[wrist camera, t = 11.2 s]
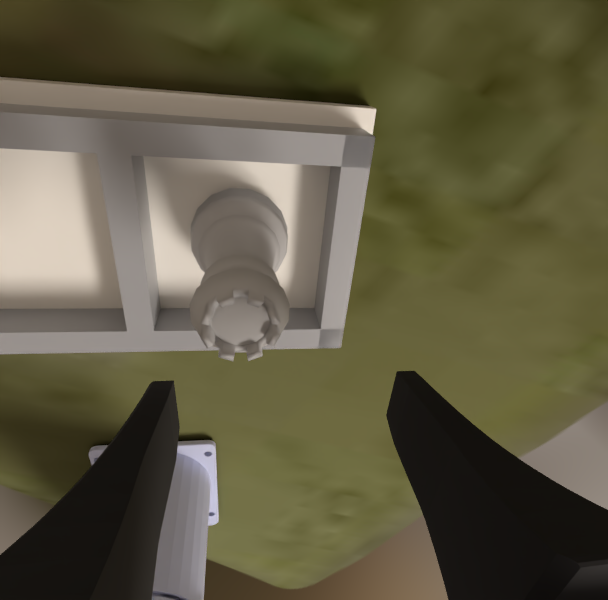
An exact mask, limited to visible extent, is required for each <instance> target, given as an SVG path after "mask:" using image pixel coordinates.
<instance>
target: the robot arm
mask: <svg viewBox="0 0 608 600" xmlns="http://www.w3.org/2000/svg"><path fill="white" fill-rule="evenodd" d="M386 416H387V420H388V424H389V427H390V431H391V435H392V438H393V442H394V445H395V447H396V450H397V452H398V455H399V457H400V459H401V462H402V464H403V467H404V469H405V471H406V474H407V476H408V479H409V481H410V483H411V486H412V488H413V490H414V493H415V495H416V498H417V500H418V502H419V505H420V507H421V510H422V513H423V515H424V518H425V520H426V524H427V527H428V530H429V533H430V537H431V540H432V543H433V546H434V549H435V553H436V556H437V559H438V563H439V566H440V570H441V573H442V577H443V581H444V584H445V588H446V592H447V596H448V599H449V600H608V510H607V509H605V508H603V507H601V506H599V505H596V504H595V503H593V502H591V501H589V500H587V499H585V498H583V497H582V496H579V495H578V494H576V493H574V492H572V491H570V490H568V489H567V488H565V487H563V486H562V485H560V484H558V483H556V482H555V481H553V480H551V479H550V478H548V477H546V476H545V475H543V474H542V473H540V472H538V471H537V470H535V469H533V468H532V467H530V466H529V465H527V464H525V463H524V462H523V461H521V460H520V459H518V458H517V457H515V456H514V455H513V454H511V453H510V452H508V451H507V450H506V449H504V448H503V447H501V446H500V445H499V444H497V443H496V442H495V441H493V440H492V439H491V438H489V437H488V436H487V435H486V434H485V433H483V432H482V431H481V430H480V429H478V428H477V427H476V426H475V425H473V424H472V423H471V422H470V421H469V420H468V419H466V418H465V417H464V416H463V415H462V414H461V413H459V412H458V411H457V410H456V409H455V408H454V407H453V406H452V405H451V404H449V403H448V402H447V401H446V400H445V399H444V398H443V397H442V396H441V395H440V394H439V393H438V392H437V391H435V390H434V389H433V388H432V387H431V386H430V385H429V384H428V383H427V382H426V381H425V380H424V379H423V378H422V377H421V376H419V375H418V374H417V373H416V372H415V371H398V372H397V373H396V377H395V382H394V386H393V390H392V394H391V398H390V402H389V406H388V410H387V415H386ZM178 438H179V419H178V411H177V403H176V395H175V387H174V381H153V382H152V383H151V384H150V385H149V386H148V388H147V390H146V392H145V393H144V395H143V397H142V398H141V400H140V401H139V403H138V404H137V406H136V408H135V409H134V411H133V412H132V414H131V415H130V417H129V418H128V419H127V421H126V422H125V424H124V425H123V426H122V428H121V429H120V431H119V432H118V433H117V435H116V436H115V437H114V439H113V440H112V441H111V443H110V444H109V445H100V446H93V447H92V448H91V449H90V451H89V458H90V462H91V465H92V466H91V467H90V468H89V470H88V471H87V472H86V473H85V474H84V475H83V476H82V478H81V479H80V480H79V481H78V482H77V483H76V484H75V485H74V486H73V487H72V488H71V489H70V491H69V492H68V493H67V494H66V495H65V496H64V497H63V498H62V499H61V500H60V501H59V502H58V503H57V504H56V505H55V506H54V507H53V508H52V509H51V510H50V511H49V512H48V513H47V514H46V515H45V516H44V517H42V518H41V519H40V520H39V521H38V522H37V523H36V524H35V525H34V526H33V527H32V528H31V529H30V530H28V531H27V532H26V533H25V534H24V535H23V536H21V537H20V538H19V539H18V540H17V541H16V542H15V543H14V544H12V545H11V546H10V547H9V548H8V549H7V550H5V551H4V552H3V553H2V554H1V555H0V600H204V584H205V567H206V552H207V537H208V525H215V524H217V523H218V521H219V513H218V489H217V465H216V444H215V442H214V441H212V440H195V441H178Z"/></svg>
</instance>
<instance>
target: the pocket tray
mask: <svg viewBox="0 0 608 600" xmlns="http://www.w3.org/2000/svg"><path fill="white" fill-rule="evenodd" d="M375 115H376V109H375V108H373V107H371V106H363V105H350V104H337V103H325V102H312V101H299V100H287V99H274V98H261V97H248V96H236V95H223V94H210V93H198V92H185V91H172V90H160V89H147V88H134V87H121V86H109V85H96V84H83V83H71V82H58V81H45V80H32V79H20V78H7V77H0V354H37V353H91V352H145V351H199V350H219V348H217V347H214V346H211V347H209V348H206V346H205V345H204V343H203V341H202V340H201V338H200V336H199V334H198V333H197V331H196V329H195V328H194V326H193V324H192V323H191V318H190V302H191V300H192V298H193V295H194V293H195V291H196V288H198V287H199V286H200V283H201V280H202V278H203V276H204V274H205V272H203V271H202V270H201V268H200V266H199V265H198V263H197V261H196V259H195V257H194V255H193V253H192V251H191V236H190V233H191V223H192V221H193V218H194V215H195V213H196V210H197V208H198V207H199V206H200V205H201V204H202V203H203V202H204V201H205V200H206V199H207V198H208V197H210V196H211V195H212V194H215V193H218V192H221V191H223V190H226V189H229V188H239V189H251V190H254V191H256V192H258V193H260V194H262V195H265V196H267V197H269V198H270V200H271V201H272V202H273V203H274V204H275V205H276V206H277V207H278V208H279V209H280V210H281V211H282V214H283V217H284V220H285V222H286V225H287V228H288V229H287V234H288V243H287V253H286V256H285V258H284V259H283V261H282V263H281V265H280V267H279V269H278V271H277V272H275V274H276V277H277V279H278V281H279V285H280V286H281V287H282V288H283V289H284V291H285V294H286V296H287V298H288V301H289V303H290V310H289V321H288V323H287V324H286V326H285V328H284V330H283V331H282V333H281V335H280V337H279V339H278V341H277V343H276V344H275V346H274V347H272V346H270V345H267V346H264V347H262V349H307V348H341V343H342V337H343V331H344V325H345V319H346V313H347V306H348V300H349V294H350V288H351V282H352V276H353V270H354V264H355V257H356V251H357V245H358V239H359V233H360V227H361V221H362V215H363V208H364V202H365V196H366V190H367V184H368V178H369V172H370V165H371V159H372V153H373V147H374V141H375V136H373V135H372V134H373V127H374V121H375Z"/></svg>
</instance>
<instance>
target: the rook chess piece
mask: <svg viewBox="0 0 608 600" xmlns="http://www.w3.org/2000/svg"><path fill="white" fill-rule="evenodd" d="M287 229H288V228H287V225H286V222H285V220H284V217H283V214H282V211H281V210H280V209H279V208H278V207H277V206H276V205H275V204H274V203H273V202H272V201H271V200H270V198H269V197H267V196H265V195H262V194H260V193H258V192H256V191H254V190H251V189H239V188H229V189H226V190H223V191H221V192H218V193H215V194H212V195H211V196H210V197H208V198H207V199H206V200H205V201H204V202H203V203H202V204H201V205H200V206H199V207H198V208H197V210H196V213H195V215H194V218H193V221H192V223H191V233H190V236H191V251H192V253H193V255H194V257H195V259H196V261H197V263H198V265H199V266H200V268H201V270H202V271H203V272H205V274H204V276H203V278H202V280H201V283H200V286H199V287H198V288H196V291H195V293H194V295H193V298H192V300H191V302H190V318H191V323H192V324H193V326H194V328H195V329H196V331H197V333H198V334H199V336H200V338H201V340H202V341H203V343H204V345H205V346H206V348H209V347H211V346H214V347H217V348H219V357H220V358H223V359H227V360H230V361H233V359H234V355H235V352H247V357H248V361H250V360H253V359H255V358H258V357H261V356H263V355H262V347H264V346H267V345H270V346H272V347H274V346H275V344H276V343H277V341H278V339H279V337H280V335H281V333H282V331H283V330H284V328H285V326H286V324H287V323H288V321H289V310H290V303H289V301H288V298H287V296H286V294H285V291H284V289H283V288H282V287H281V286H280V285H279V281H278V279H277V277H276V274H275V272H277V271H278V269H279V267H280V265H281V263H282V261H283V259H284V258H285V256H286V253H287V243H288V234H287Z"/></svg>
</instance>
